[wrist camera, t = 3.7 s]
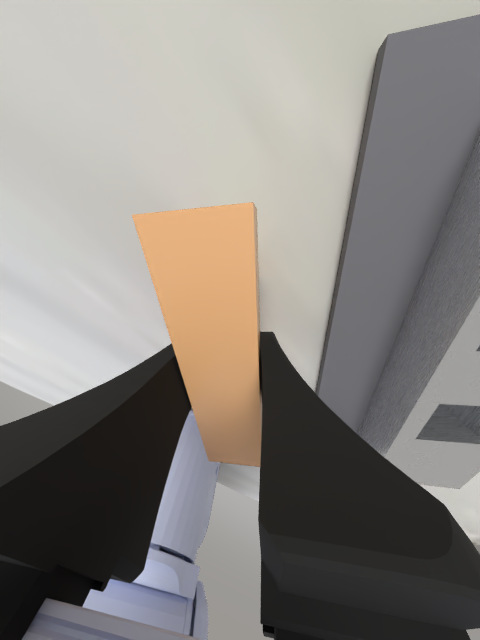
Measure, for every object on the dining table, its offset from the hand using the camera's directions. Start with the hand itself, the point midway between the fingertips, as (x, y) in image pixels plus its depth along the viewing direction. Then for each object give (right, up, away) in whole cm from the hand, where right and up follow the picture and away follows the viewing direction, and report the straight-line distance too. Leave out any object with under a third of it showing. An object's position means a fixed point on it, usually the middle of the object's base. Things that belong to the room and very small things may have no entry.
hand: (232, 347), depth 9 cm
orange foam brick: (+1, +2, +3) cm, 4 cm away
